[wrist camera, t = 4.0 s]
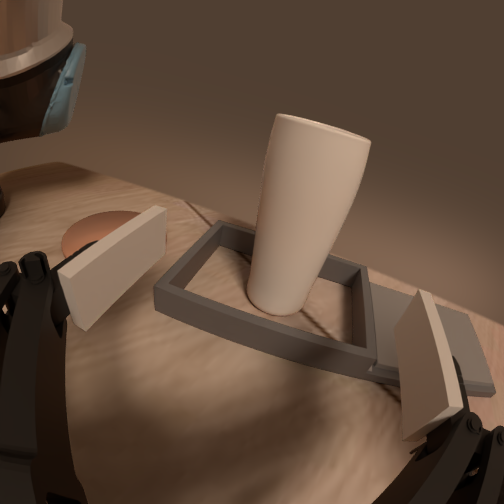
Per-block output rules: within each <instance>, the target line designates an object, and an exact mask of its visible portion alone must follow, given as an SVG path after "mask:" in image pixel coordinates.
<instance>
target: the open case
mask: <svg viewBox="0 0 504 504" xmlns="http://www.w3.org/2000/svg"><path fill="white" fill-rule="evenodd" d="M254 239H255V231H253V230H250V229H247V228H243V227H240V226H237V225H234V224H230V223H227V222H224V221H220V220H218V221H217V222H216V223H215V224H214V225H213V226H212V227H211V228H210V229H209V230H208V231H207V232H206V233H205V234H204V235H203V236H202V237H201V238H200V239H199V240H198V241H197V242H196V243H195V244H194V245H193V246H192V247H191V248H190V249H189V250H188V251H187V252H186V253H185V254H184V255H183V256H182V257H181V258H180V259H179V260H178V261H177V262H176V263H175V264H174V265H173V266H172V267H171V268H170V269H169V270H168V271H167V272H166V273H165V274H164V275H163V276H162V277H161V278H160V280H159V281H158V282H157V283H156V284H155V285H154V302H155V310H156V311H158V312H161V313H163V314H165V315H168V316H170V317H172V318H174V319H177V320H179V321H182V322H184V323H186V324H189V325H191V326H194V327H196V328H199V329H201V330H204V331H206V332H209V333H212V334H214V335H217V336H220V337H222V338H225V339H228V340H230V341H233V342H236V343H239V344H242V345H244V346H247V347H250V348H253V349H256V350H259V351H262V352H265V353H268V354H271V355H274V356H278V357H281V358H284V359H287V360H291V361H294V362H297V363H301V364H304V365H308V366H311V367H315V368H319V369H323V370H326V371H330V372H334V373H338V374H342V375H346V376H350V377H355V378H359V379H364V380H368V381H373V382H378V383H383V384H388V385H393V386H399V387H400V377H399V367H398V358H397V350H396V342H395V335H394V329H393V328H394V327H395V326H396V324H397V323H398V321H399V320H400V318H401V317H402V315H403V314H404V312H405V311H406V309H407V307H408V306H409V304H410V303H411V301H412V300H413V298H414V296H411V295H408V294H405V293H402V292H399V291H396V290H393V289H389V288H386V287H383V286H380V285H377V284H374V283H371V282H369V278H368V271H367V267H366V266H363V265H360V264H357V263H354V262H351V261H348V260H345V259H342V258H339V257H336V256H333V255H330V254H329V255H328V257H327V259H326V261H325V263H324V265H323V267H322V269H321V271H320V273H319V275H318V277H321V278H324V279H327V280H330V281H333V282H337V283H340V284H343V285H346V286H349V287H352V321H353V341H352V345H351V344H347V343H343V342H340V341H336V340H333V339H329V338H326V337H322V336H319V335H315V334H312V333H309V332H305V331H302V330H299V329H296V328H292V327H289V326H286V325H283V324H280V323H277V322H274V321H271V320H267V319H264V318H261V317H258V316H255V315H253V314H250V313H247V312H244V311H241V310H238V309H235V308H232V307H230V306H227V305H224V304H221V303H218V302H216V301H213V300H210V299H208V298H205V297H202V296H199V295H197V294H194V293H192V292H189V291H186V290H184V288H185V287H186V285H187V284H188V283H189V282H190V280H191V279H192V278H193V277H194V276H195V274H196V273H197V272H198V271H199V269H200V268H201V267H202V266H203V265H204V263H205V262H206V261H207V260H208V259H209V257H210V256H211V255H212V254H213V253H214V251H215V250H216V249H217V248H218V247H219V245H221V246H224V247H227V248H230V249H233V250H236V251H239V252H243V253H246V254H249V255H252V254H253V246H254ZM434 304H435V303H434ZM435 306H436V309H437V312H438V314H439V317H440V320H441V323H442V326H443V329H444V332H445V335H446V338H447V342H448V345H449V348H450V352H451V355H452V356H454V357H455V358H456V360H457V362H458V364H459V365H460V369H461V373H462V377H463V381H464V384H463V385H465V389H466V394H467V396H476V397H492V396H493V395H494V394H495V393H496V391H495V387H494V383H493V380H492V376H491V373H490V370H489V367H488V364H487V361H486V358H485V356H484V353H483V350H482V348H481V345H480V342H479V340H478V337H477V335H476V332H475V330H474V328H473V325H472V323H471V321H470V318H469V316H468V314H465V313H462V312H459V311H456V310H453V309H450V308H447V307H444V306H441V305H438V304H435Z"/></svg>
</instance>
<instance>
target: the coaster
mask: <svg viewBox="0 0 504 504" xmlns="http://www.w3.org/2000/svg"><path fill="white" fill-rule="evenodd" d="M139 214H141V213H138V212H132V211H109V212H103V213H98V214H94V215H91V216H88V217H86V218H84V219H82V220H80V221H78V222H76V223H75V224H74V225H72V226H71V227H70V228H69V229H68V230H67V231H66V233H65V234H64V236H63V239H62V251H63V255H64V257H65V258H67V257H69V256H70V255H73V253H74V252H76V251H77V250H78V251H79V249H80V248H82V247H83V246H85V245H86V244H88V243H91V242H93V241H96V240H98V241H99V240H101V239H102V238H104V237H105V236H107V235H108V234H110V233H111V232H113V231H114V230H116V229H117V228H119V227H120V226H122V225H123V224H125V223H127V222H128V221H130V220H131V219H133V218H135V217H136V216H138V215H139Z"/></svg>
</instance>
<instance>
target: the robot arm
mask: <svg viewBox="0 0 504 504" xmlns="http://www.w3.org/2000/svg"><path fill="white" fill-rule="evenodd" d="M62 4H63V0H0V143H3V142H8V141H14V140H19V139H25V138H32V137H42V136H43V135H46V134H50V133H55V132H59V131H61V130H63V129H64V128H66V127H67V126H68V124H69V123H70V121H71V118H72V115H73V112H74V108H75V104H76V99H77V95H78V90H79V86H80V81H81V77H82V72H83V67H84V62H85V56H86V46H85V44H80V43H76V44H73V29H72V28H71V27H70V26H69V25H67V24H66V23H64V22H62V21H61V15H62ZM4 210H5V201H4V195H3V191H2V189H1V187H0V217H1V215H2V214H3V212H4ZM166 218H167V209H166V208H163V207H160V206H156V205H154V206H153V207H151V208H149V209H148V210H146V211H144V212H143V213H141V214H139V215H138V216H136V217H135V218H133V219H131V220H130V221H128V222H127V223H125V224H123V225H122V226H120V227H119V228H117V229H116V230H114V231H113V232H111V233H110V234H108V235H107V236H105V237H104V238H102V239H101V240H99V241H98V240H96V241H93V242H91V243H88V244H86V245H85V246H83V247H82V248H80V249H79V251H78V250H77V251H76V252H74V253H73V255H70V256H69V257H67V258H66V259H65V260H63V261H62V262H61V263H59V264H58V265H57V266H55V267H54V268H52V269H51V270H50V268H49V264H48V260H47V256H46V254H45V253H43V252H41V251H34V252H30V253H28V254H26V255H24V256H23V257H22V258H21V259H20V260H19V262H18V263H19V266H20V269H21V272H22V273H19V271H18V268H17V265H16V263H15V262H12V261H9V262H4V263H2V264H1V265H0V504H47V503H46V501H47V502H48V504H88V503H87V499H86V496H85V492H84V489H83V487H82V485H81V483H80V482H79V480H78V479H77V477H76V475H75V471H74V466H73V461H72V455H71V449H70V442H69V434H68V424H67V413H66V396H65V349H66V332H67V320H66V317H67V316H68V315H69V314H71V317H72V320H73V323H74V324H75V325H77V326H78V327H80V328H81V329H83V330H84V331H87V330H88V329H89V328H90V327H91V326H92V325H93V324H94V323H95V322H96V321H97V320H98V319H99V318H100V317H101V316H102V315H103V314H104V313H105V312H106V311H107V310H108V308H109V307H110V306H111V305H112V304H113V303H114V302H116V301H117V300H118V299H119V298H120V297H121V296H122V295H123V294H124V293H125V292H126V291H127V290H128V289H129V288H130V287H131V286H132V285H133V284H134V283H135V282H136V281H137V280H138V279H139V278H140V277H141V276H142V275H143V274H144V273H146V272H147V271H148V270H149V269H150V268H151V267H152V266H153V265H154V264H155V263H156V262H157V261H158V260H159V259H161V258H162V257H163V256H164V255H165V248H166ZM4 305H6V307H7V310H8V311H7V313H6V314H4V312H3V310H2V308H3V306H4ZM393 329H394V335H395V342H396V350H397V358H398V367H399V377H400V389H401V406H402V441H418V440H420V439H421V438H423V437H424V436H427V442H425V443H423V444H422V445H420V446H419V447H417V448H415V449H414V450H412V451H411V452H410V454H412V453H414V452H416V451H417V452H416V453H415V455H414V456H413V457H412V459H411V460H410V461H409V463H408V464H407V465H406V466H405V468H404V469H403V470H402V471H401V472H400V474H399V475H398V476H397V477H396V478H395V479H394V481H393V482H392V483H391V484H390V485H389V486H388V487H387V488H386V489H385V490H384V492H383V493H382V494H381V495H380V496H379V497H378V498H377V499H376V500H375V501H374V502H373V503H372V504H496V503H497V500H498V497H499V493H500V489H501V485H502V481H503V477H504V427H503V426H497V427H496V428H495V429H493V430H492V431H488V430H486V429H484V428H483V427H482V422H481V420H480V418H479V417H478V415H476V414H475V413H473V412H470V409H469V404H468V399H467V394H466V389H465V385H463V384H464V381H463V377H462V373H461V369H460V365H459V364H458V362H457V360H456V358H455V357H454V356H452V355H451V352H450V348H449V345H448V342H447V338H446V335H445V332H444V329H443V326H442V323H441V320H440V317H439V314H438V312H437V309H436V306H435V304H434V301H433V298H432V296H431V293H429V292H426V291H423V290H420V289H419V290H418V291H417V293H416V295H415V296H414V298H413V300H412V301H411V303H410V304H409V306H408V307H407V309H406V311H405V312H404V314H403V315H402V317H401V318H400V320H399V321H398V323H397V324H396V326H395V327H394V328H393ZM477 468H479V469H478V473H477V474H475V475H473V476H472V471H473V470H475V469H477Z"/></svg>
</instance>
